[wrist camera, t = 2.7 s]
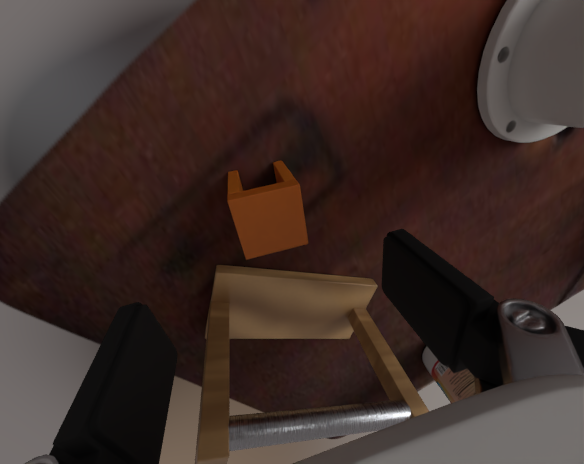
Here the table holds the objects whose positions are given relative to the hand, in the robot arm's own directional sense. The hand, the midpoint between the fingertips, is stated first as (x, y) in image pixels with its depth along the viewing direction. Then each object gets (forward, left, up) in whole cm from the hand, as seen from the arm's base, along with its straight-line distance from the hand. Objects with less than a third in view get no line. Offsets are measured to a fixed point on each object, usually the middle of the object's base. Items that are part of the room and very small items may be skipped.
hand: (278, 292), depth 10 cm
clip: (0, 0, -11) cm, 11 cm away
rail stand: (+10, +8, -11) cm, 16 cm away
